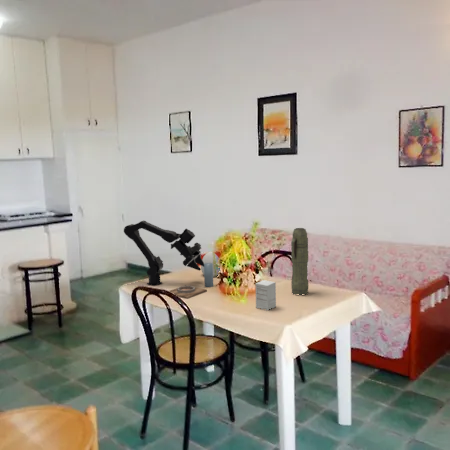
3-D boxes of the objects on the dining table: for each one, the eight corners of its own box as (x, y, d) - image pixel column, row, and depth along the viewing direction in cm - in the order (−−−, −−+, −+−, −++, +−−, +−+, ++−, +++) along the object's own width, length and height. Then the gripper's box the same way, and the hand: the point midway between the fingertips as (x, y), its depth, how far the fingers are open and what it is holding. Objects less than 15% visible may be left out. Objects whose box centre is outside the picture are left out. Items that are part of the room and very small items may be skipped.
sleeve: (202, 286, 280) (202, 264, 278) (208, 284, 284) (207, 262, 282) (209, 287, 277) (208, 265, 275) (215, 285, 281) (214, 263, 279)
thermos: (286, 294, 261) (286, 229, 256) (298, 289, 270) (298, 226, 264) (300, 297, 255) (300, 231, 250) (312, 292, 264) (312, 227, 259)
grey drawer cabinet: (264, 304, 245) (263, 279, 244) (276, 306, 241) (276, 281, 239) (255, 308, 240) (254, 283, 238) (267, 310, 235) (267, 285, 233)
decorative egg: (221, 277, 298) (220, 253, 296) (201, 278, 298) (200, 254, 295) (221, 272, 310) (220, 249, 308) (201, 273, 310) (200, 250, 307)
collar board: (165, 293, 267) (165, 289, 267) (185, 287, 280) (185, 282, 279) (187, 298, 257) (187, 294, 257) (206, 291, 270) (206, 287, 269)
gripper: (187, 242, 269) (207, 262, 269) (196, 236, 287) (215, 255, 286) (174, 256, 272) (194, 275, 272) (184, 249, 290) (203, 267, 289)
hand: (202, 268), depth 280 cm, fingers open, 9 cm apart
